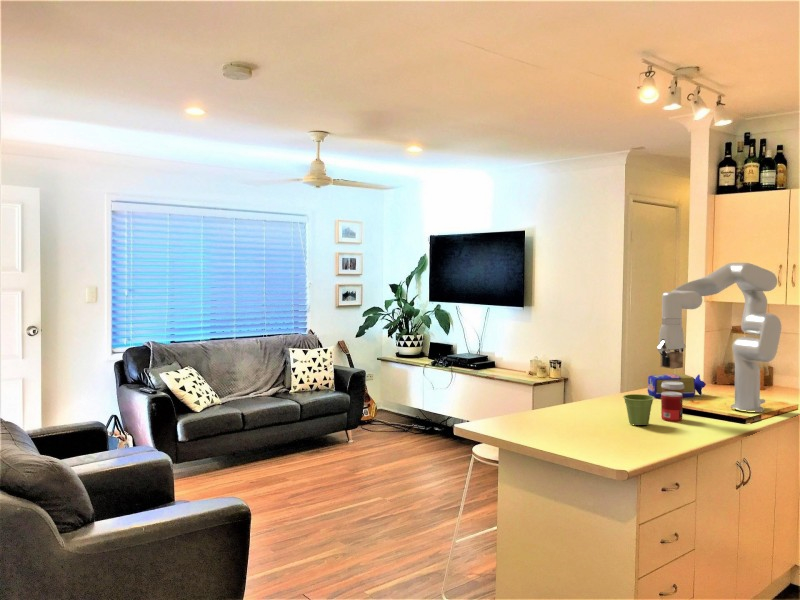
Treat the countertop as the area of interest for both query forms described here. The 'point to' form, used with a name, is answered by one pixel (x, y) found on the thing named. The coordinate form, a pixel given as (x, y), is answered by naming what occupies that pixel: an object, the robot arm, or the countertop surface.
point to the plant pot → (638, 408)
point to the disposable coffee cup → (672, 386)
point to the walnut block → (675, 360)
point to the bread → (688, 381)
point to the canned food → (671, 406)
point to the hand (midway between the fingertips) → (671, 365)
